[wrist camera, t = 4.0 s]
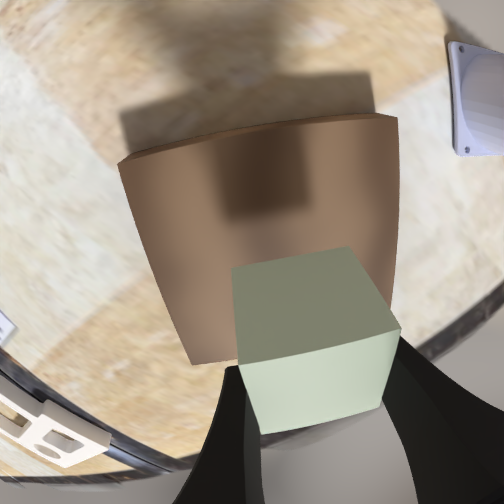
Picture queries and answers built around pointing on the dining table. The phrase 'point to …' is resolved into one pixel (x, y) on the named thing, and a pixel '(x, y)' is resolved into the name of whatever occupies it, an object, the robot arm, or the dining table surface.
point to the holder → (50, 428)
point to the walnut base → (261, 211)
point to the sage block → (311, 338)
